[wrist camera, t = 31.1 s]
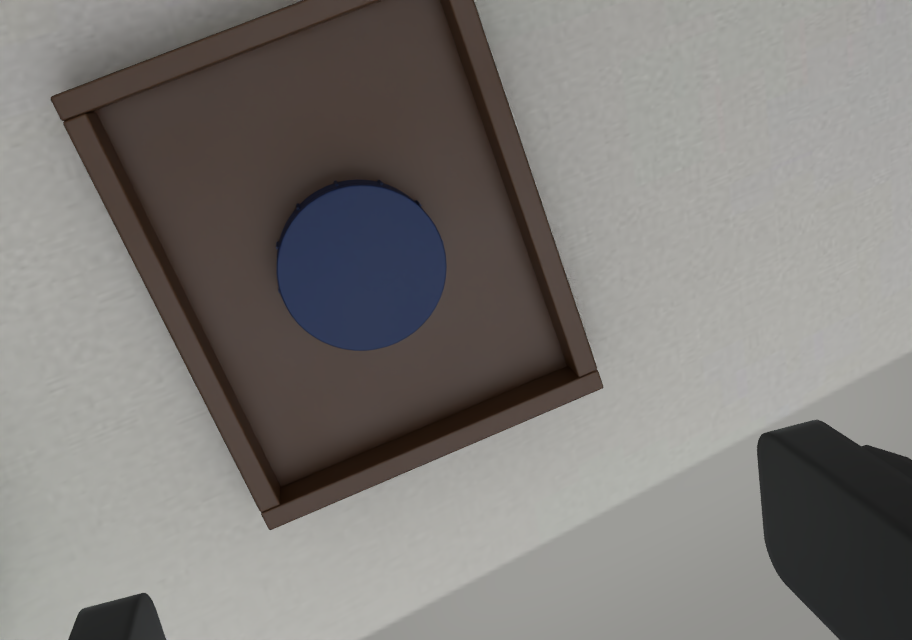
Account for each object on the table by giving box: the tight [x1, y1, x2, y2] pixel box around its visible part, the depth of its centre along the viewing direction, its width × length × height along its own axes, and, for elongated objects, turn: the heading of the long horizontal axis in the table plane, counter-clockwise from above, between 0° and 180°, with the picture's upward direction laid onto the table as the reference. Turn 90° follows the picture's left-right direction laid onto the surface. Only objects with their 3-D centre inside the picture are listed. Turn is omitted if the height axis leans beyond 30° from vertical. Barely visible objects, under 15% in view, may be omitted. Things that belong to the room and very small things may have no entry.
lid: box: [276, 180, 447, 351], centre depth 31 cm, size 6×6×2 cm
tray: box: [51, 0, 603, 530], centre depth 31 cm, size 17×14×2 cm
